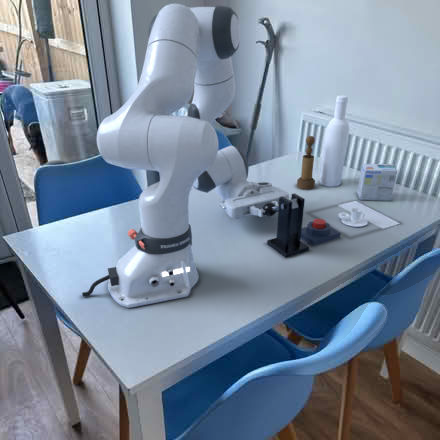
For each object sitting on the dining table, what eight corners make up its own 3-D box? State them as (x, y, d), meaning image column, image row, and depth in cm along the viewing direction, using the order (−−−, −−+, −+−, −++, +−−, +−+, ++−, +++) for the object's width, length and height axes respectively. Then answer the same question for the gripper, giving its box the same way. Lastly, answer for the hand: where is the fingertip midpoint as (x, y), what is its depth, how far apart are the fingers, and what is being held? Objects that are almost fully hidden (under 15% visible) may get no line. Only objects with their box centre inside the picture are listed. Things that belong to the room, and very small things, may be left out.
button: (317, 230, 121) (318, 225, 120) (309, 225, 123) (310, 220, 122) (327, 227, 122) (328, 222, 121) (319, 223, 125) (320, 217, 124)
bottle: (339, 187, 155) (353, 99, 138) (318, 185, 157) (329, 98, 140) (341, 180, 161) (355, 94, 144) (320, 178, 163) (331, 93, 146)
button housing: (312, 246, 120) (314, 235, 118) (295, 234, 126) (296, 224, 124) (339, 237, 124) (341, 227, 122) (321, 227, 129) (323, 216, 127)
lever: (261, 218, 123) (258, 205, 123) (273, 215, 125) (270, 202, 124) (289, 212, 110) (286, 197, 110) (302, 209, 112) (299, 194, 111)
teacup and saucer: (334, 219, 134) (335, 207, 131) (353, 213, 137) (355, 202, 134) (353, 230, 127) (355, 217, 125) (373, 224, 130) (375, 212, 128)
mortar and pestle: (293, 184, 158) (298, 134, 148) (309, 182, 160) (314, 132, 150) (301, 190, 153) (306, 139, 143) (317, 188, 155) (324, 137, 144)
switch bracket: (266, 244, 121) (269, 195, 113) (289, 237, 124) (293, 189, 116) (285, 258, 115) (289, 207, 106) (309, 250, 118) (315, 200, 109)
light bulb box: (387, 193, 150) (394, 163, 144) (391, 201, 144) (398, 170, 138) (356, 192, 151) (361, 162, 145) (359, 200, 145) (365, 169, 139)
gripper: (216, 193, 126) (239, 209, 116) (273, 181, 134) (300, 194, 124) (217, 213, 130) (240, 230, 119) (273, 200, 137) (298, 214, 127)
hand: (271, 212), depth 122 cm, fingers closed on lever, 4 cm apart
